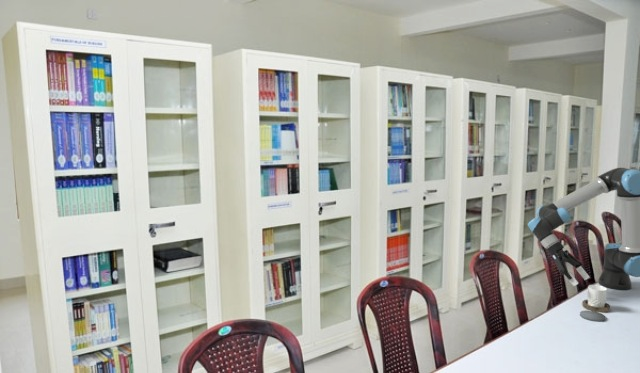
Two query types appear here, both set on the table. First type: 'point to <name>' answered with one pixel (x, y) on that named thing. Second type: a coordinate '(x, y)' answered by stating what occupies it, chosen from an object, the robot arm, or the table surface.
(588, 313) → the coaster
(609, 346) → the table surface
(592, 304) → the white cup
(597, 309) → the collar
